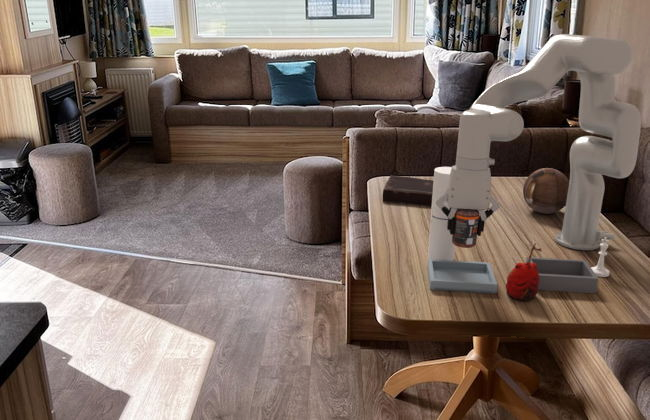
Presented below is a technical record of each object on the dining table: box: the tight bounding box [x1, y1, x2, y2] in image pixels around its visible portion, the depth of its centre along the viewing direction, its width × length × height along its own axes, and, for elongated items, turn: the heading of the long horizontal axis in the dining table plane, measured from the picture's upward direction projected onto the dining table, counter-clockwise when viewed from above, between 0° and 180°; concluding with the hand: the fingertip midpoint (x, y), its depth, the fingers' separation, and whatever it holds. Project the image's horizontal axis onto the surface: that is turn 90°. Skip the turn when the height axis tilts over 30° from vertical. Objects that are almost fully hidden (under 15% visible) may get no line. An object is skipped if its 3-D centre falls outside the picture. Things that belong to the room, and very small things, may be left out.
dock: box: [525, 256, 599, 294], centre depth 161 cm, size 15×11×4 cm
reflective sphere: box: [522, 167, 570, 215], centre depth 209 cm, size 15×15×15 cm
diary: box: [382, 175, 434, 207], centre depth 224 cm, size 19×25×5 cm
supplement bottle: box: [452, 209, 480, 249], centre depth 156 cm, size 6×6×11 cm
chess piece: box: [590, 237, 610, 278], centre depth 165 cm, size 5×5×10 cm
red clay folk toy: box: [505, 243, 543, 302], centre depth 151 cm, size 8×7×15 cm
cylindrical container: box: [427, 166, 456, 261], centre depth 170 cm, size 7×7×25 cm
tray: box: [427, 258, 498, 295], centre depth 161 cm, size 16×13×2 cm
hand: (464, 232), depth 157 cm, fingers closed on supplement bottle, 6 cm apart
